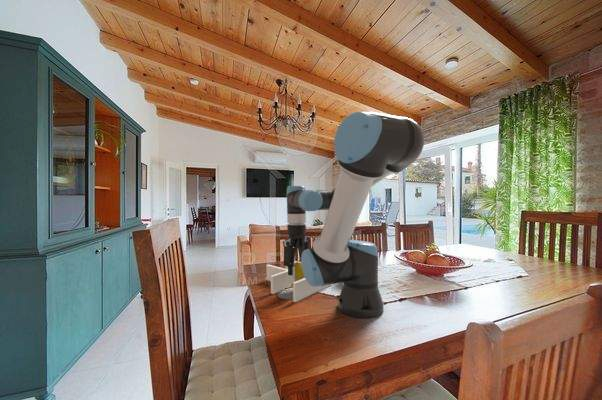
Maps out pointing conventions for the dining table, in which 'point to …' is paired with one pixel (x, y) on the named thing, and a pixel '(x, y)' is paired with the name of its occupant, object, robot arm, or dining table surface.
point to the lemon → (298, 271)
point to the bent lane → (281, 281)
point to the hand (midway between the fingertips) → (297, 280)
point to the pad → (286, 295)
